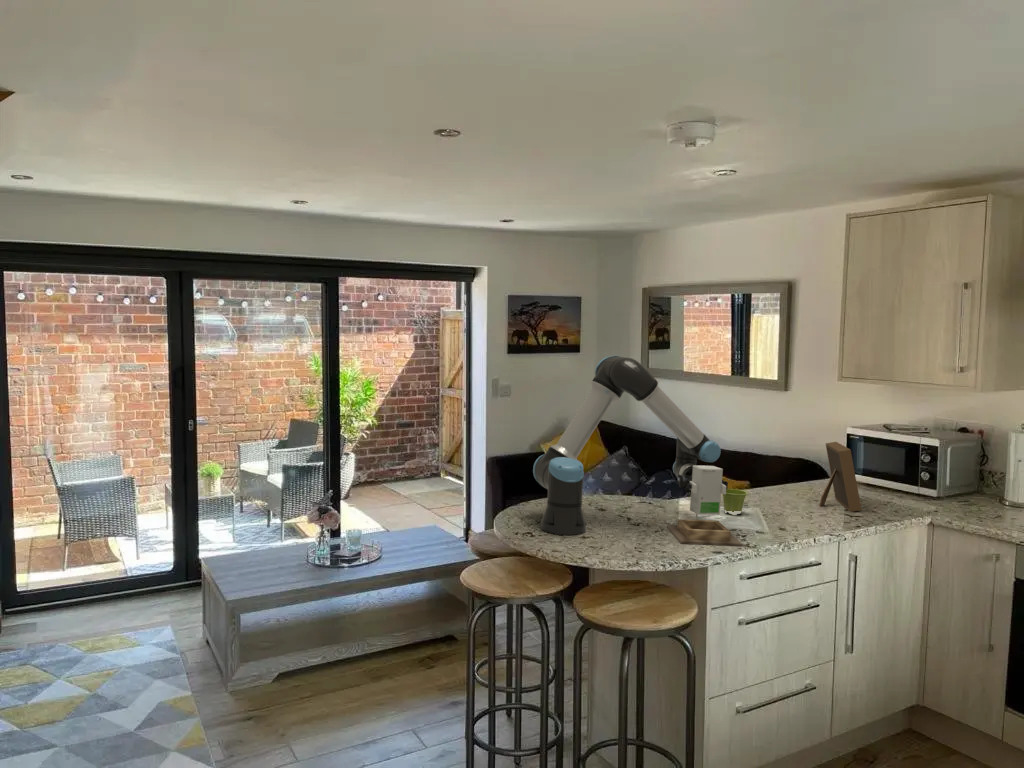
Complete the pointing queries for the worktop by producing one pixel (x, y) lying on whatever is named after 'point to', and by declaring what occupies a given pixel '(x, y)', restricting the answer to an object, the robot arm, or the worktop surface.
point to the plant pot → (734, 499)
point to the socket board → (702, 533)
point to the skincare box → (706, 490)
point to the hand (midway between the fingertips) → (710, 489)
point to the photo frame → (842, 477)
